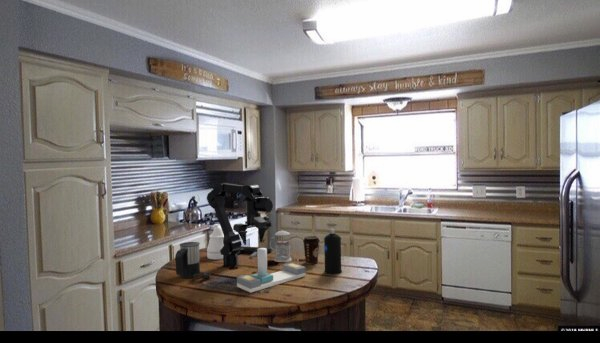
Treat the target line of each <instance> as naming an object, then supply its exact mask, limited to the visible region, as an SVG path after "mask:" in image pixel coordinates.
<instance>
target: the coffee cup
mask: <svg viewBox="0 0 600 343" xmlns="http://www.w3.org/2000/svg"><path fill="white" fill-rule="evenodd" d="M302 241H303V250H304V259H305V264H307V265H315V264H317V263H319V262H318V261H319V250H320V245H319V243H320V241H321V240H320V238H319V237H318V236H316V235H315V236H314V235H310V236H309V235H308V236H305V237H304V239H303V240H302Z"/></svg>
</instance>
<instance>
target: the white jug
mask: <svg viewBox="0 0 600 343" xmlns="http://www.w3.org/2000/svg"><path fill="white" fill-rule="evenodd" d="M213 228H214V230H213V231H212V233H211V234H210V235H209V237H208V238H209V241H208V246H207V248H206V249H207V250H206V254H207V255H206V258H207V259H208V260H223V255H221V253H220V250H221V249H222V248H223V246H224V244H223V239H224V234H223V231H222V229H221V226H220V225H219V224H217V223H216V224H213Z"/></svg>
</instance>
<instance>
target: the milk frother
mask: <svg viewBox="0 0 600 343" xmlns="http://www.w3.org/2000/svg"><path fill="white" fill-rule="evenodd" d="M200 244H201V243H200V242H198V241H187V242H186V241H185V242H182V243H179V246H180V248H179V249H178V250H177V252H176V253H175V257H174V260H175V261H174V262H175V273H176V275H177V276H179V277H181V278H183V279H192V278H197V277H203V278H205V279H210V277H212V274H211V273H210V272H209V271H208V272H204V273H201V269H200V268H201V267H200V266H201V265H200V264H201V263H200V262H201V261H200Z"/></svg>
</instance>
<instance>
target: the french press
mask: <svg viewBox="0 0 600 343" xmlns="http://www.w3.org/2000/svg"><path fill="white" fill-rule="evenodd" d="M279 215H280V216H284V215H285V214H284V213H283V212H280V213H279ZM290 235H291V233H290V232H288V231H286V230H278V231H276V232H275V233H274V236H273V237H271V239H270V241H269V248H271V249H272V251H274V259H273V261H274V262H278V263H287V262H291V261H292V260H293V259H292V258H291V244H290V240H288V239H284V237H286V236H290ZM276 236H277V237H281V238H282V239H278V240H276ZM272 239H274V240H276V241H275V245H274V246H275V248H273V247H272V244H271V242H272Z"/></svg>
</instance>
